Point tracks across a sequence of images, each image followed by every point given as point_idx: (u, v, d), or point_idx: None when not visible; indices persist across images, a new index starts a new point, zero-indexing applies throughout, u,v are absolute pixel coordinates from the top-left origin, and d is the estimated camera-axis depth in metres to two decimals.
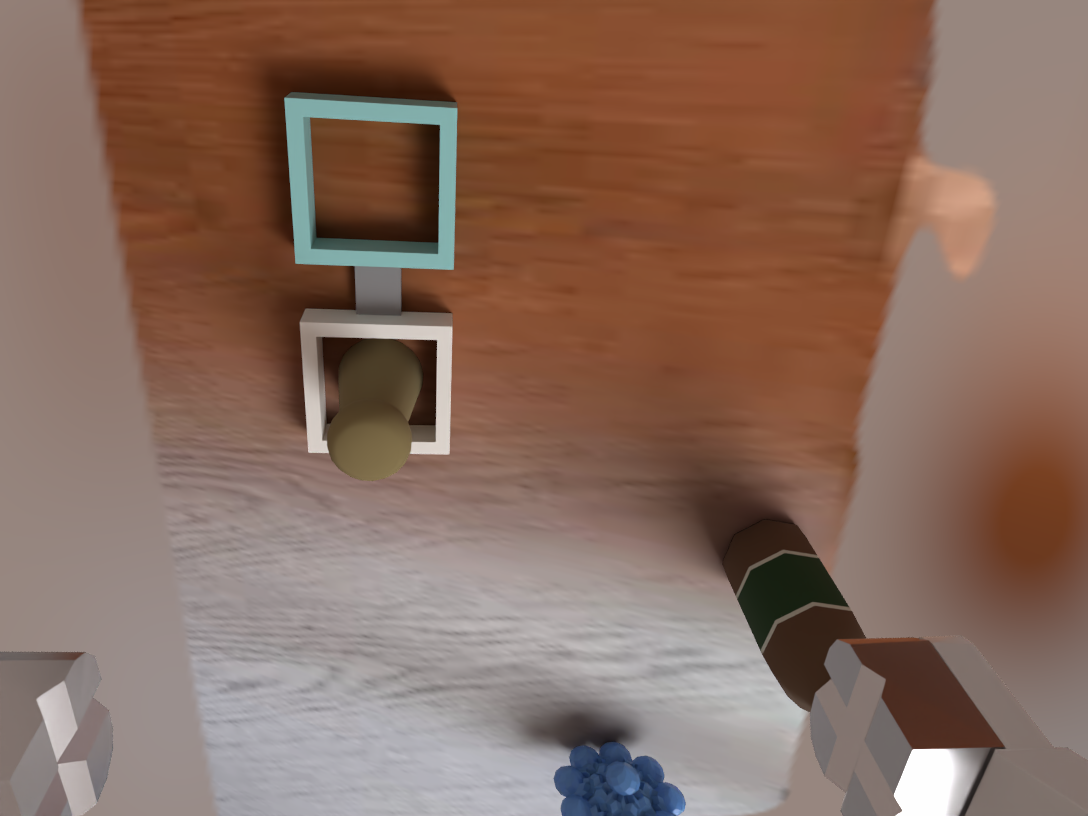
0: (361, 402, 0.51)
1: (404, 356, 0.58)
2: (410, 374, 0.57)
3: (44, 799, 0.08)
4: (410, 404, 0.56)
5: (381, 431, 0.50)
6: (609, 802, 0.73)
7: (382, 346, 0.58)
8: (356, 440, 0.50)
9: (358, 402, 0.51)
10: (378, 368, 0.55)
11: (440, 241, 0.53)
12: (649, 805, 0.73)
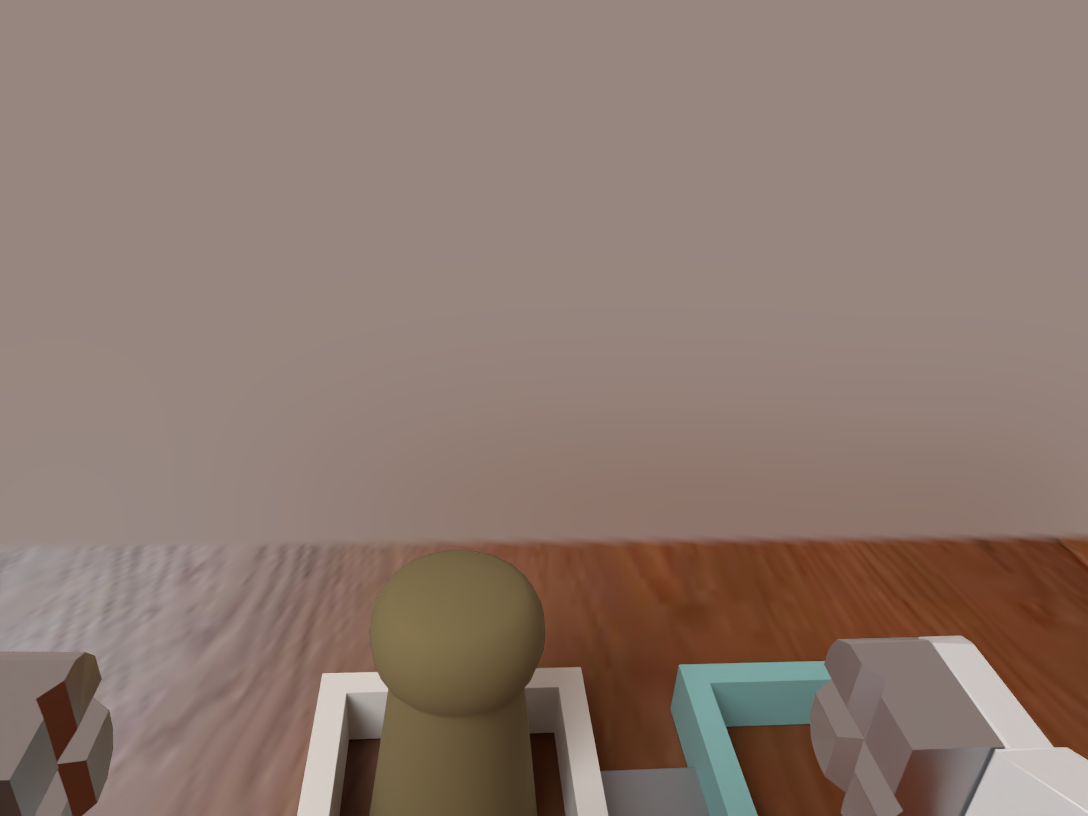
0: None
1: None
2: None
3: (44, 799, 0.08)
4: (468, 790, 0.25)
5: (513, 608, 0.24)
6: None
7: (536, 809, 0.29)
8: (490, 571, 0.25)
9: None
10: (530, 752, 0.27)
11: None
12: None
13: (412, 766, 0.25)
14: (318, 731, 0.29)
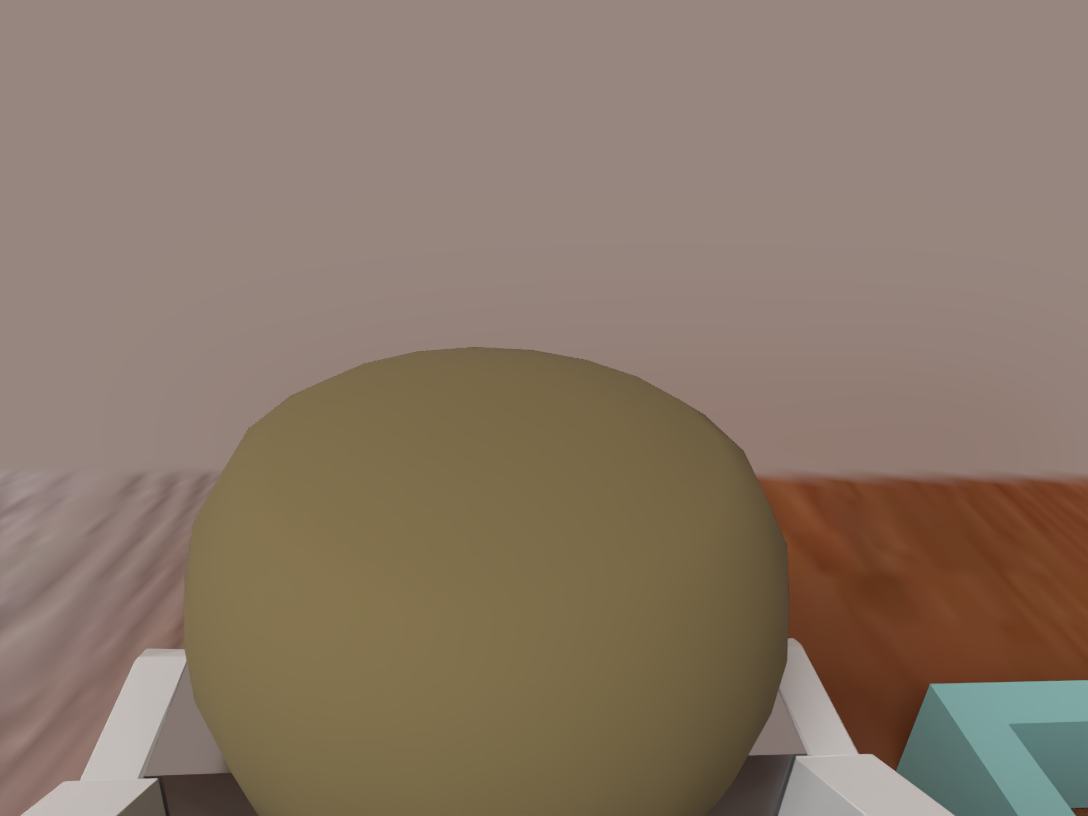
0: None
1: None
2: None
3: None
4: None
5: (708, 494, 0.06)
6: None
7: None
8: (603, 386, 0.07)
9: None
10: None
11: None
12: None
13: None
14: None
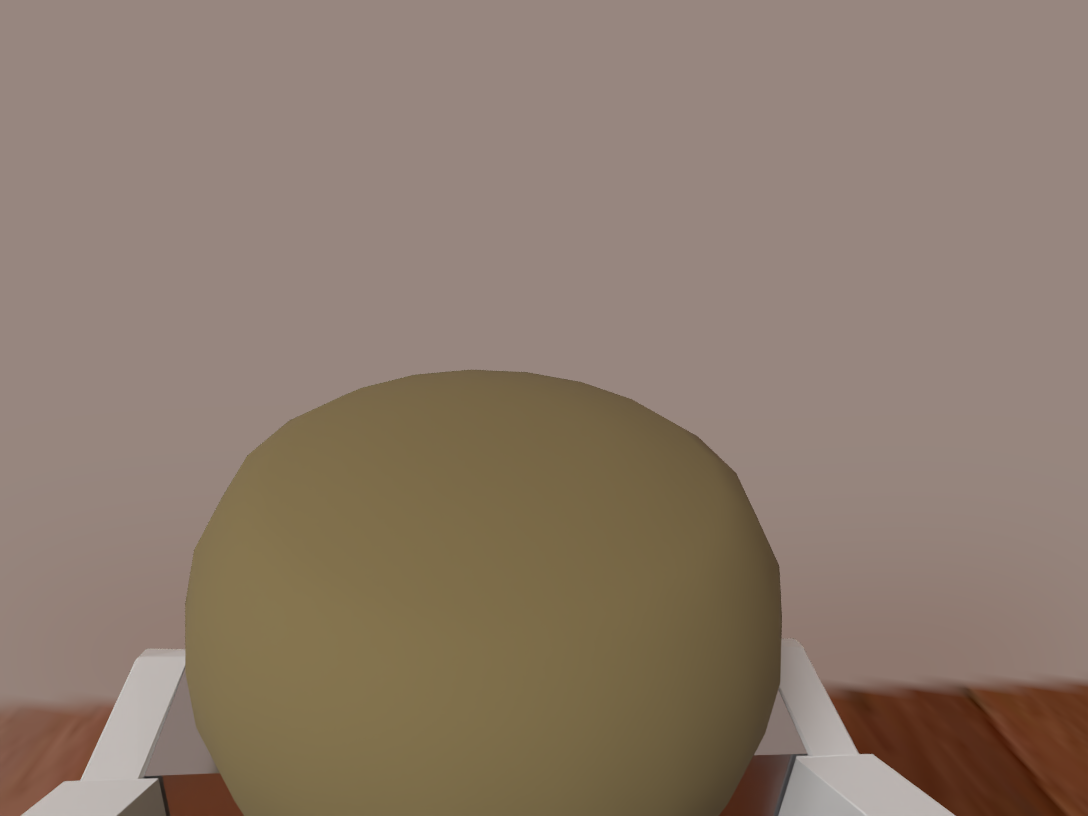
0: None
1: None
2: None
3: None
4: None
5: (701, 519, 0.06)
6: None
7: None
8: (598, 410, 0.08)
9: None
10: None
11: None
12: None
13: None
14: None
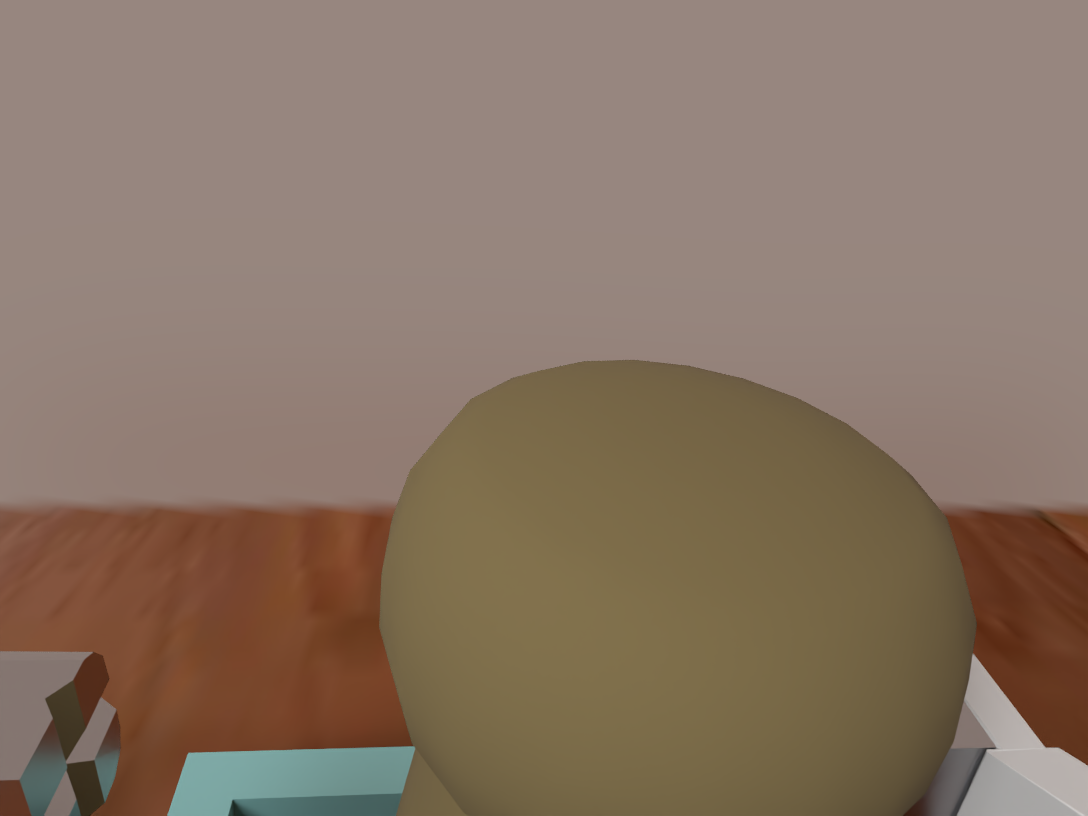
0: None
1: None
2: None
3: (53, 799, 0.08)
4: None
5: (912, 516, 0.07)
6: None
7: None
8: (781, 406, 0.08)
9: None
10: None
11: None
12: None
13: None
14: None
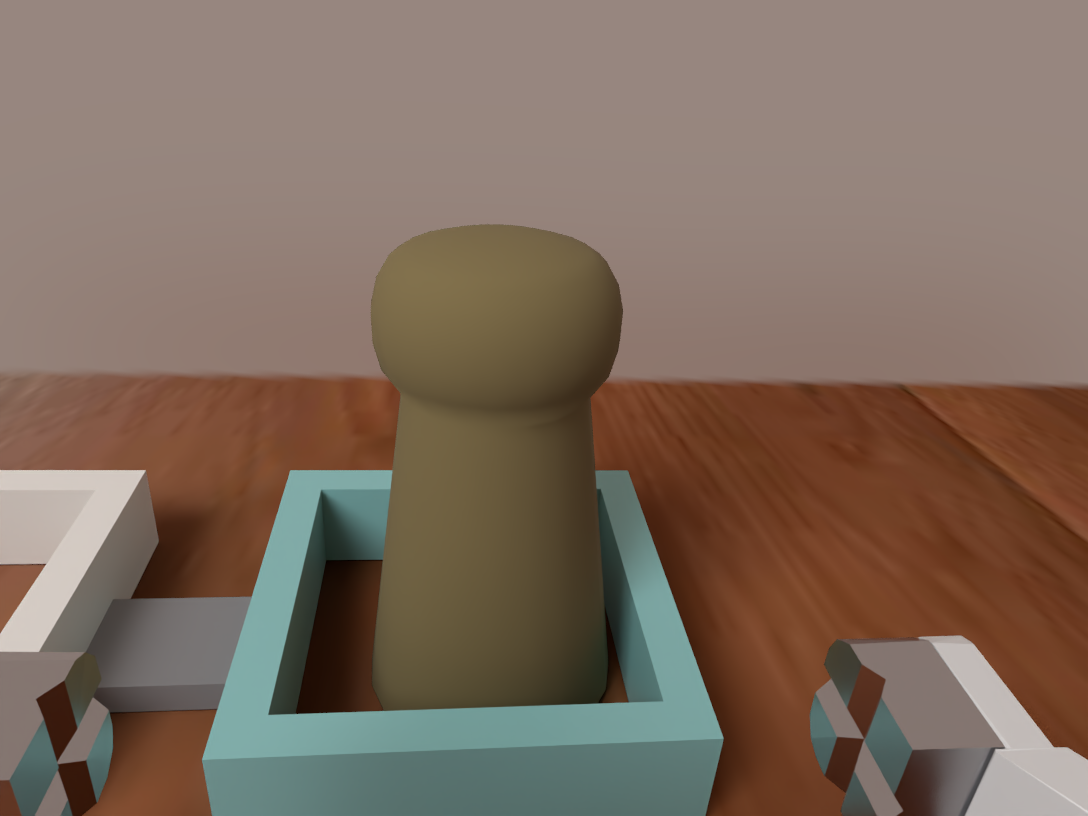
0: None
1: (596, 654, 0.20)
2: (574, 627, 0.19)
3: (44, 799, 0.08)
4: (532, 546, 0.17)
5: (583, 256, 0.16)
6: None
7: None
8: (537, 229, 0.17)
9: None
10: None
11: (310, 718, 0.16)
12: None
13: (447, 519, 0.17)
14: None
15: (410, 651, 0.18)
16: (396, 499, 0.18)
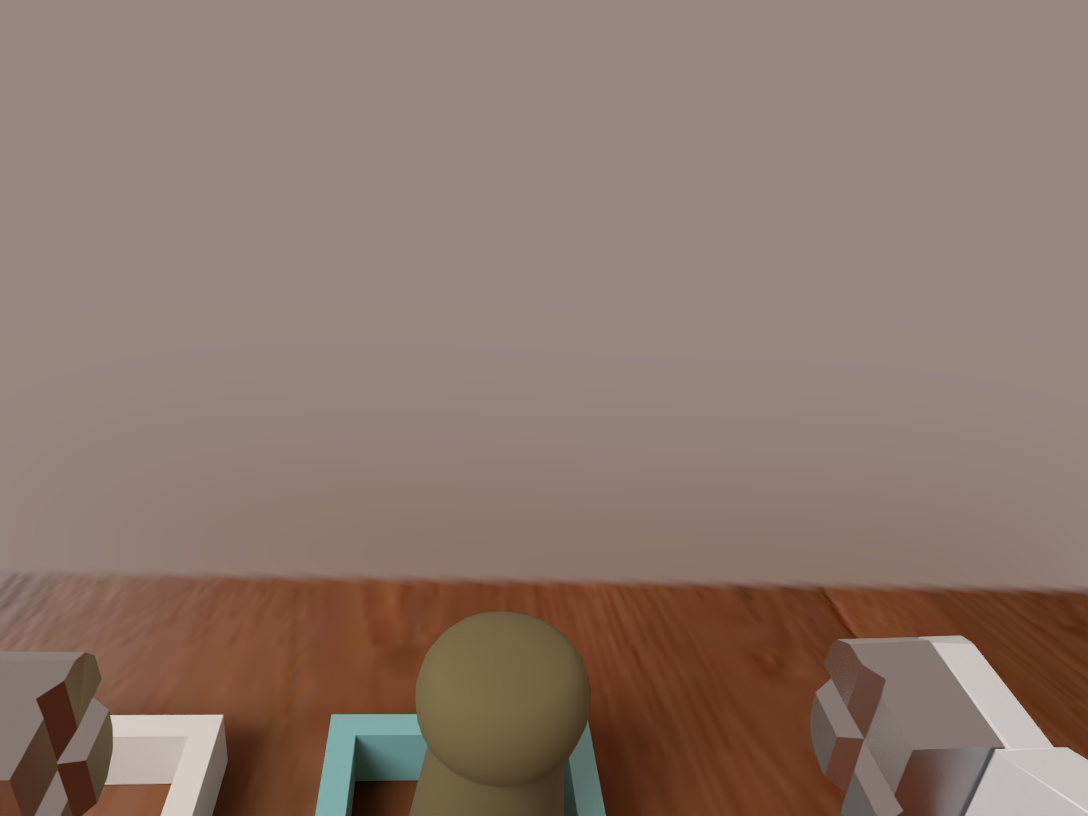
0: None
1: None
2: None
3: (44, 799, 0.08)
4: None
5: (566, 672, 0.24)
6: None
7: None
8: (534, 633, 0.25)
9: None
10: None
11: None
12: None
13: None
14: None
15: None
16: (424, 806, 0.26)
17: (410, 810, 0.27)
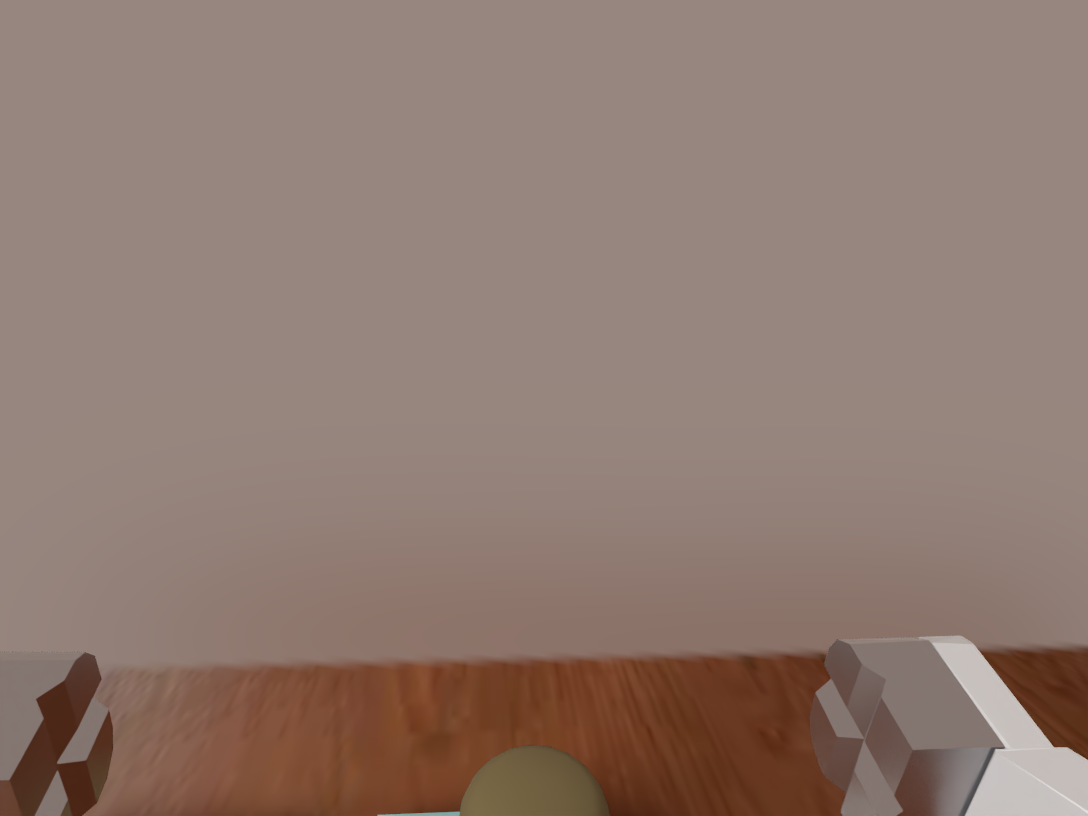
0: None
1: None
2: None
3: (44, 799, 0.08)
4: None
5: (589, 807, 0.28)
6: None
7: None
8: (558, 770, 0.28)
9: None
10: None
11: None
12: None
13: None
14: None
15: None
16: None
17: None
